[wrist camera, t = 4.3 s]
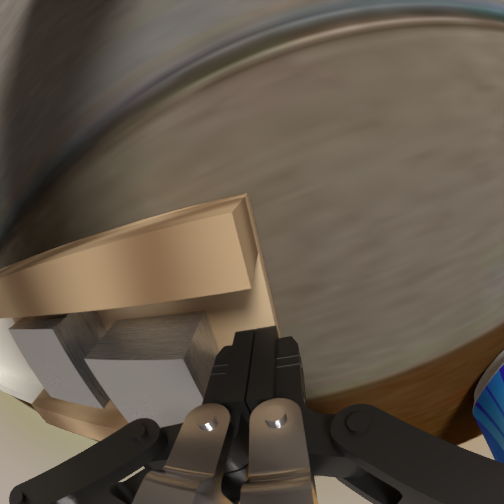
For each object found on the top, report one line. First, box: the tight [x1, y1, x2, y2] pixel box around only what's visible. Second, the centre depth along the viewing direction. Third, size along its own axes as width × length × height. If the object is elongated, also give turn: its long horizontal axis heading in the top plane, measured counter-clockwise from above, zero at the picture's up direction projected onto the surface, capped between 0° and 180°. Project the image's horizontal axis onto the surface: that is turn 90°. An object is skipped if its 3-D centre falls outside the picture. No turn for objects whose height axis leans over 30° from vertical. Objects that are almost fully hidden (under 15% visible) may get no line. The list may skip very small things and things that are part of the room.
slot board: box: [0, 193, 281, 441], centre depth 11 cm, size 18×11×4 cm, turn 103°
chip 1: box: [8, 310, 110, 409], centre depth 11 cm, size 4×4×3 cm
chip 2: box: [84, 310, 220, 428], centre depth 10 cm, size 4×4×3 cm
